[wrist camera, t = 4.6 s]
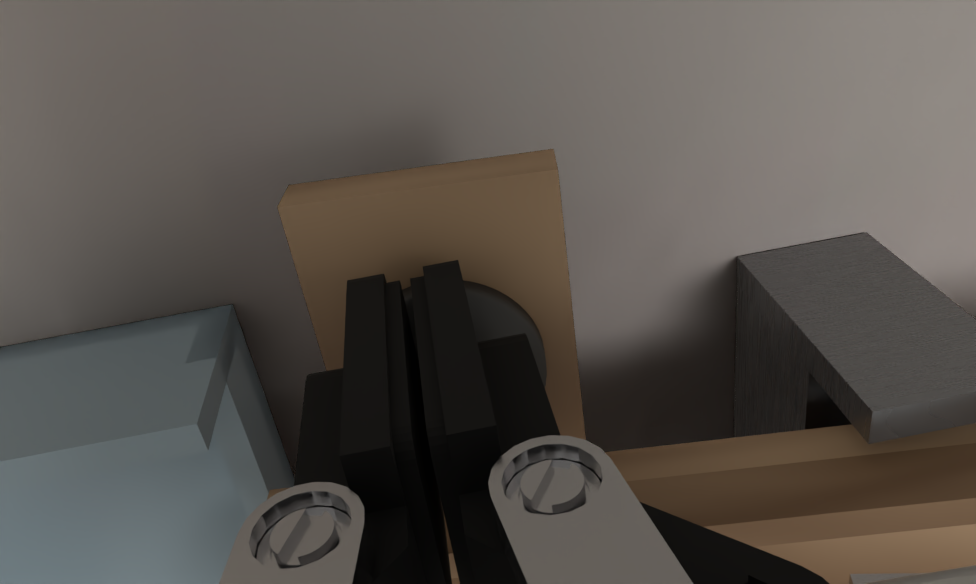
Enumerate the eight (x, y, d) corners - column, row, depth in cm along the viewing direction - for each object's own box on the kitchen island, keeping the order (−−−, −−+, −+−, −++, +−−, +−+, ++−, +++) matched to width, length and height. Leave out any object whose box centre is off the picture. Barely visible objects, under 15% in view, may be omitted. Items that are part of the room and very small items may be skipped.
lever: (183, 174, 13) (82, 296, 10) (1782, -48, 12) (2313, 6, 8) (359, 667, 20) (335, 841, 16) (1394, 566, 18) (1600, 735, 15)
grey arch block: (737, 257, 18) (872, 412, 13) (866, 232, 18) (1047, 377, 13) (732, 545, 23) (829, 737, 18) (834, 524, 23) (959, 710, 18)
